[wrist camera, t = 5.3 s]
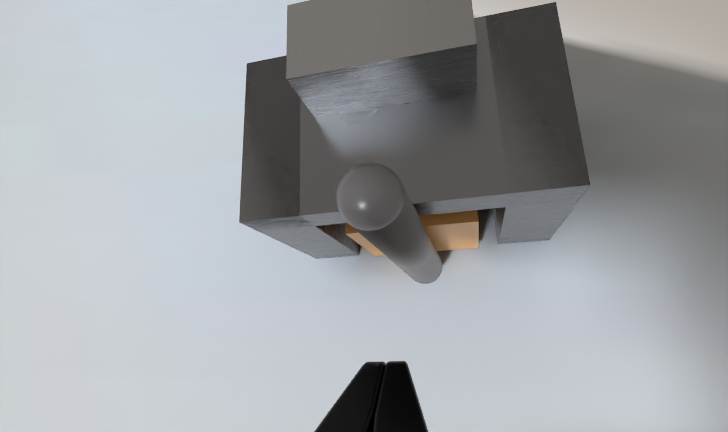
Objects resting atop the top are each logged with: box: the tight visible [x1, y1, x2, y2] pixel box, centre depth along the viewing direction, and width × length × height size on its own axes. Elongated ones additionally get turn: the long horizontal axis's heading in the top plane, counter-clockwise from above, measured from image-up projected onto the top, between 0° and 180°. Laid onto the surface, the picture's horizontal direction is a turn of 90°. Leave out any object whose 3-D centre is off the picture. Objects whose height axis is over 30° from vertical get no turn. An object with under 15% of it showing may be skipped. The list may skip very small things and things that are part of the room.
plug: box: [336, 162, 479, 284], centre depth 14 cm, size 6×4×11 cm
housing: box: [239, 0, 590, 259], centre depth 15 cm, size 6×10×9 cm, turn 92°
